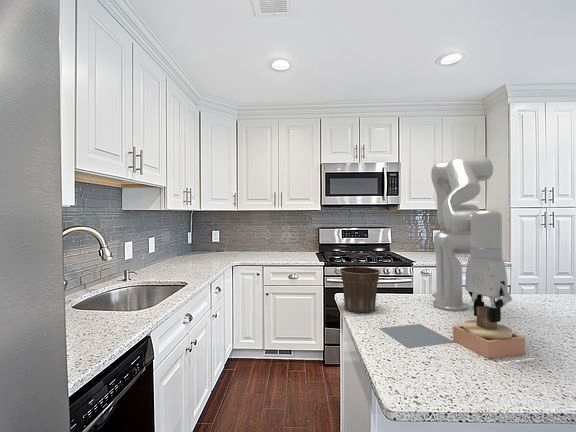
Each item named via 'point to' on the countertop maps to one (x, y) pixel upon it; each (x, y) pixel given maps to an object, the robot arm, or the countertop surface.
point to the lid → (486, 326)
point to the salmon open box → (489, 344)
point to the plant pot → (360, 288)
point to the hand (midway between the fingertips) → (486, 317)
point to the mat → (415, 336)
